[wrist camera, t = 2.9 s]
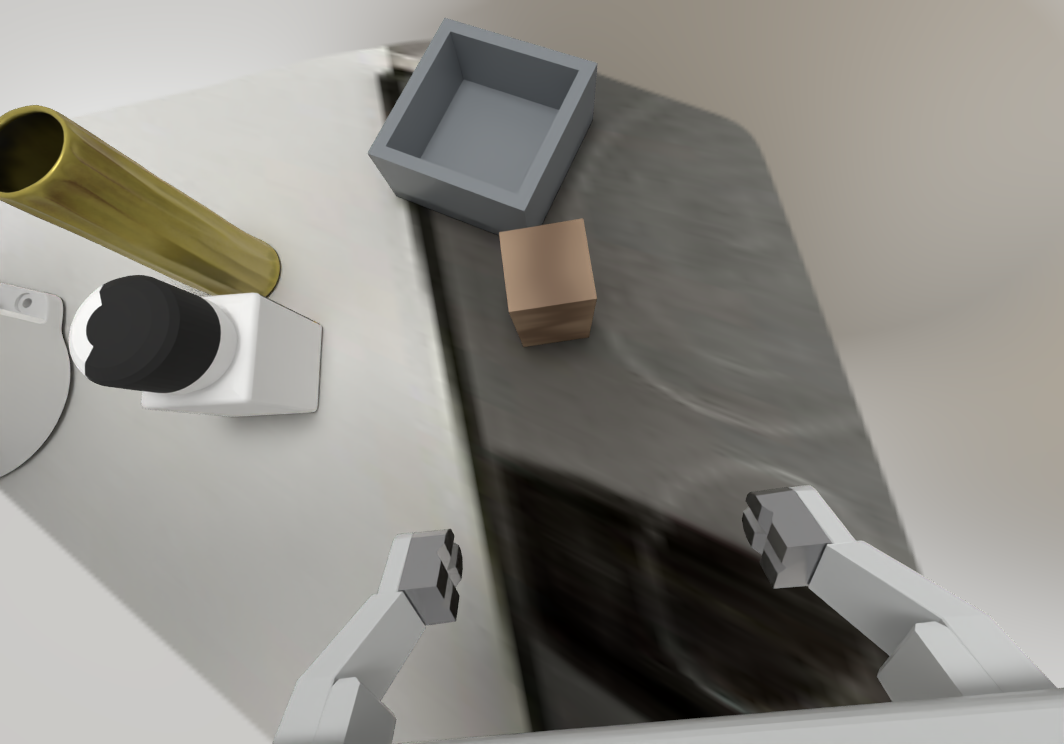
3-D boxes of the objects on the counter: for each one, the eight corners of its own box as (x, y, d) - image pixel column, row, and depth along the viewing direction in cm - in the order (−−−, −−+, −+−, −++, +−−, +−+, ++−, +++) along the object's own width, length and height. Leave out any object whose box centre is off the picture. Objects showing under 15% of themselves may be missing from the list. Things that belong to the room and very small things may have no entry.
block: (523, 346, 30) (508, 312, 22) (515, 286, 31) (499, 232, 23) (588, 337, 30) (596, 298, 22) (578, 276, 31) (583, 218, 23)
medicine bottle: (324, 324, 32) (183, 253, 20) (319, 412, 31) (165, 391, 19) (241, 330, 33) (57, 264, 21) (232, 417, 31) (30, 399, 19)
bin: (396, 195, 34) (367, 153, 29) (461, 77, 35) (444, 17, 30) (530, 247, 32) (524, 211, 27) (592, 119, 33) (597, 63, 28)
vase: (233, 231, 34) (6, 84, 20) (293, 252, 33) (98, 112, 19) (201, 295, 33) (-62, 186, 19) (261, 317, 33) (32, 220, 19)
